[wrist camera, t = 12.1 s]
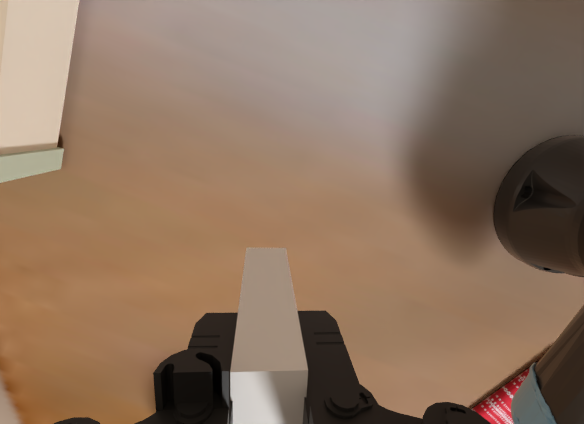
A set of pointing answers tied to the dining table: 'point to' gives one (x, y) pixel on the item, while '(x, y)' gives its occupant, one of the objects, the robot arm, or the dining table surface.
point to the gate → (33, 83)
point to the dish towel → (501, 402)
